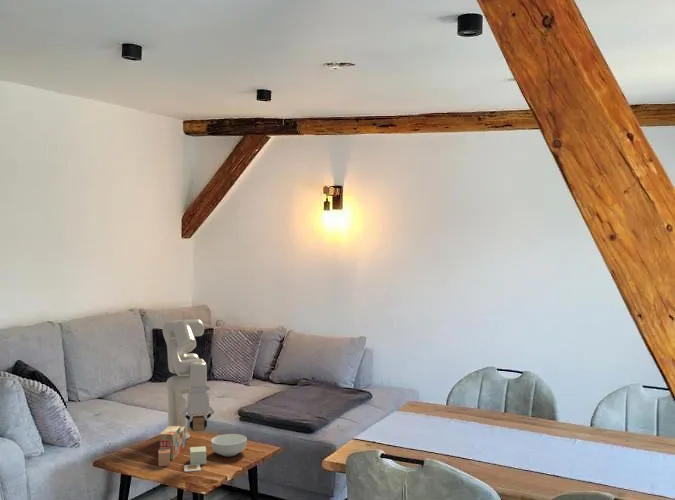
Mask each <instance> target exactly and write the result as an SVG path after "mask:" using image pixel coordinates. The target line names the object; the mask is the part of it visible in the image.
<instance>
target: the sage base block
mask: <svg viewBox="0 0 675 500" xmlns="http://www.w3.org/2000/svg"><path fill="white" fill-rule="evenodd" d="M189 463H190V464H189V465H195V464H200V465H207V447H206V446H205V445H204V446H203V445H201V446H192V447H189Z"/></svg>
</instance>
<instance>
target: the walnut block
mask: <svg viewBox="0 0 675 500" xmlns="http://www.w3.org/2000/svg"><path fill="white" fill-rule="evenodd" d="M192 420H193V430H192V432H204V431H205V429H204V414H201V415H193V418H192Z"/></svg>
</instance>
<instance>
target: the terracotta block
mask: <svg viewBox="0 0 675 500" xmlns="http://www.w3.org/2000/svg"><path fill="white" fill-rule="evenodd" d="M157 460H158V464H157V465H158V467H166V466H171V460H170V449H160V448H159V449H158V459H157Z"/></svg>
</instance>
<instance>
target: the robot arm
mask: <svg viewBox="0 0 675 500" xmlns="http://www.w3.org/2000/svg"><path fill="white" fill-rule="evenodd" d="M204 332H205V326H204V322H203V321H202V320H201V319H199V318H197V319H196V318H195V319H173V320H169V321H168V320H167V321H165V322H164V323H163V325H162V335H163V338H164V341H165V343H166V349H167V365H168V371H169V372H170V373H172V374H176V375H173V376H171V377H169V378H167V380H166V382H165V387H166V392H167V393H166V394H167V427H168V426H180V427H186V440H188V439H190V437H191V434H190V432H188V421H189V428H190V429H191V431H193V420H192V418H193V415H204V430H206V427H208V420H209V419H210V417H211V416H213V415H214V414H215V413H216V412H215V410H214V409H213V407H212V406H211V405H210V404H211V403H210V395H209V391H208V390H210V389H211V387H210V386H209V385H208V384H207V383H208V375H207V374H208V367H207V366H208V365H207V363H206V361H205V360H204V359H203V358H200V357H199V355H198V354H196V353H193V350H194V349H196V347H197V340H196V337H202V336H203V335H204ZM191 352H192V353H191ZM183 395H187V397H186V398H187V399H185V398H184V397H183Z"/></svg>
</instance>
